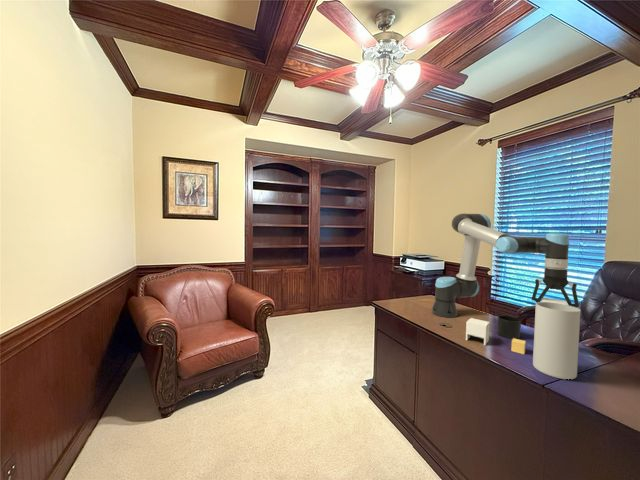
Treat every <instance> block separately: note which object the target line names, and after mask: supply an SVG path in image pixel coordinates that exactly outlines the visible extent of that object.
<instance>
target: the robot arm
mask: <svg viewBox="0 0 640 480" xmlns="http://www.w3.org/2000/svg"><path fill="white" fill-rule="evenodd" d="M451 227H452V229H453V230H454V231H455V232H457V233H458V234H462V235H463V237H464V243H463V250H462V255H461V260H460V266H459V272H458V273H457V274H456V275H455V277H453V276H440V277H438V278H436V280H435V283H434V285H435V290H434V303H433V305H432V307H431V313H432V314H433V315H434V316H435V315H436V316H439V317H444V318H457V317H458V315H459V312H458V308H457V304H456V298H471V297H475V296H476V295H478V294H479V291H480V284H479V281H478V280H477V277H476V276H475V273H476V268H477V262H478V257H479V251H480V245H481V242H483V243H486V244H488V245H490V246H494V247H495V248H496V249H497V251H499V252H500V253H503V254H504V253H505V254H544V267H545V268H544V274H543V275H544V276H543V278H542V279H541V278H540V279H539V278H536V279H535V286H534V289H533V291H532V296H531V300H532V301H534V302H535V304H536V303H537V302H542V298H545V295H546V294H547V292H548V291H549V290H556V291H560V292H561V294H562V296H563V297H564V300H565V301H567V305H569V306H572V307H576V308H579V307H580V304H579V299H578V293H577V286H578V285H577V283H576V282H571V281H569V280H568V270H567V269H568V266H569V265H568V264H569V249H570V237H569V234H567V233H546V235H545V237H539V236H538V237H536V236H535V237H533V236H522V237H521V236H512V235H510V234H507V233H505V232H502V231H499V230H496V229H493V228H492V222H491V220H490V218H489V216H488V215H486V214H482V213H460V214H459V213H458V214H456V215H455V216H454V217H453V218H452V220H451ZM542 283H544V285H545V287H544V289H543V290H542V291H541V293H540V295H539V296H538V298H537V294H538V291H539V287H540V285H542ZM568 285H569V287H570V288H571V291H572V297H573V302H574V303H572V301H571V299H570V298H569V296H568V294H567V291H566V289H565V287H567V286H568Z"/></svg>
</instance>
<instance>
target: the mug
mask: <svg viewBox="0 0 640 480" xmlns="http://www.w3.org/2000/svg"><path fill="white" fill-rule="evenodd" d="M521 327H522V325H521V319H519V318H517V317H515V316H511V315H498V316H497V330H496V332H497V333H496V334H497V335H499V336H500V337H503V338H505V339H509V340H513V338H514V339H519V340H520V338H521Z"/></svg>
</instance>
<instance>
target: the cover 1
mask: <svg viewBox="0 0 640 480" xmlns="http://www.w3.org/2000/svg"><path fill="white" fill-rule="evenodd" d="M465 324H466V326H465V341H468V340H469V339H470V338H471V337H474V338H477V339H481V340H483V346H487V343H488V342H489V341H490V324H491V323H490V321H487V320H484V319H483V320H482V319H479V318H478V319H477V318H473V317H470V318H469V319H467V321H466V323H465Z"/></svg>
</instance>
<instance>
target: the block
mask: <svg viewBox="0 0 640 480" xmlns="http://www.w3.org/2000/svg"><path fill="white" fill-rule="evenodd" d="M526 342H527V341H526V340H524V339H523V340H522V339H520V338H519V339H514V338H513V339H511V348H510V349H511V350H510V351H511V352H514V353H518V354H521V355H525V353H526V345H527V343H526Z"/></svg>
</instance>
